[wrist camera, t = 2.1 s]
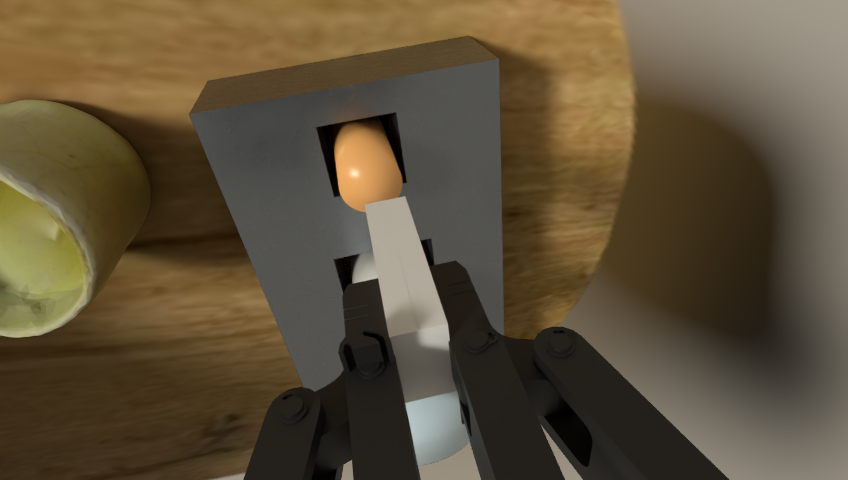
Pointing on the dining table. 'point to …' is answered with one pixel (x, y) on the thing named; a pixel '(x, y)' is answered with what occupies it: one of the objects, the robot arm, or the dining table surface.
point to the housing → (318, 183)
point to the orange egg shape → (365, 163)
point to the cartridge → (428, 417)
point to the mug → (62, 212)
